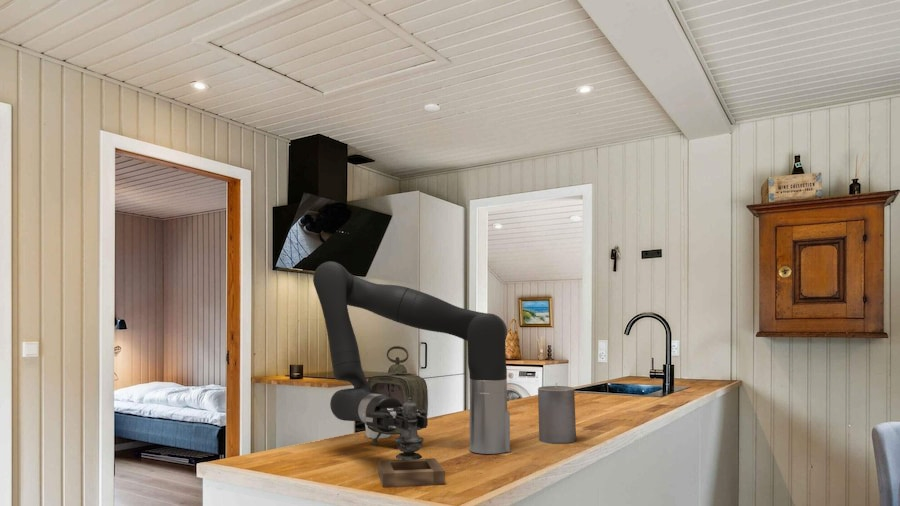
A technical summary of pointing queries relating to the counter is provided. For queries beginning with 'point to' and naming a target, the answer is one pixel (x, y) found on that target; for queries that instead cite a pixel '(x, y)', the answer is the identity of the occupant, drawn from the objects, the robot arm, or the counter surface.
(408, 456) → the chess piece
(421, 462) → the socket block
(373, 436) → the white curved pieces
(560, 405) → the pillar candle
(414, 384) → the tabletop clock
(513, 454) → the counter surface
